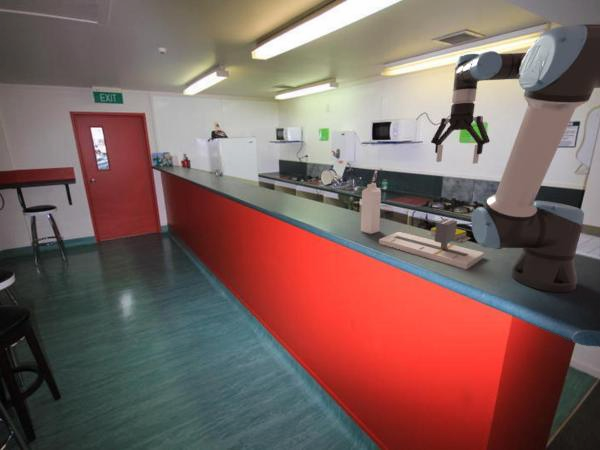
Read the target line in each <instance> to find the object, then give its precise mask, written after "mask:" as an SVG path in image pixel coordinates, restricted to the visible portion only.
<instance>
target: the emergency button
mask: <svg viewBox="0 0 600 450" xmlns="http://www.w3.org/2000/svg"><path fill="white" fill-rule="evenodd" d="M435 232H436V226H435V227H432V228H430V232H427V234H426V235H430V236H433V237H435ZM460 239H461V240H460ZM459 240H460V241H459ZM463 240H464V241H463ZM468 240H471V237H469V236H467V231H466V230H463V229H459V228H456V234H455V240H453V241H452V242H455V243H462V242H461V241H463V242H465V241H468Z"/></svg>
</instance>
